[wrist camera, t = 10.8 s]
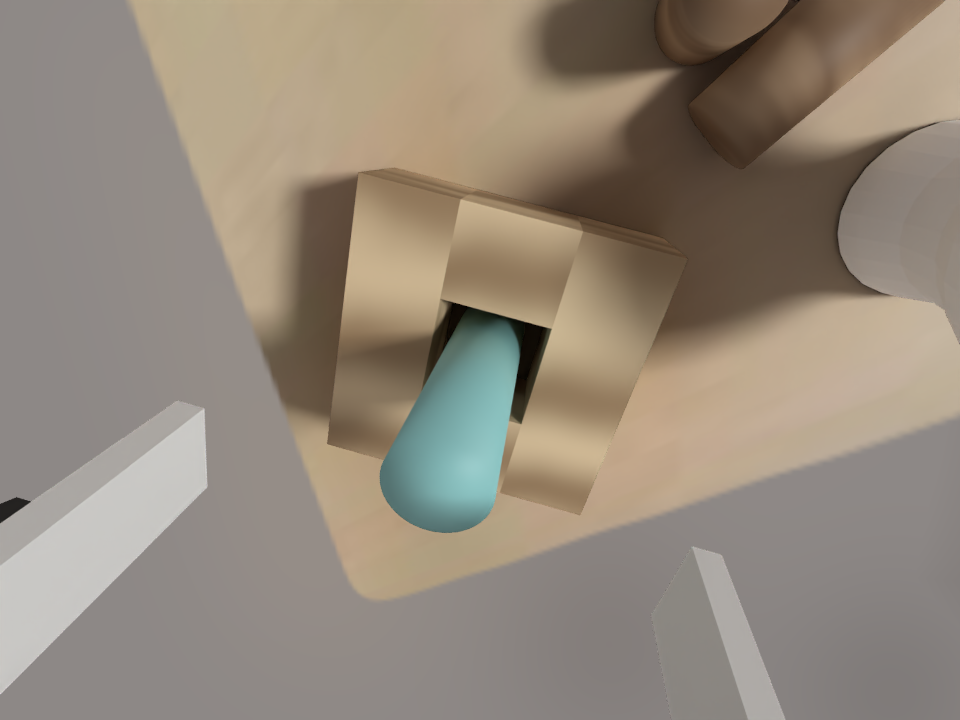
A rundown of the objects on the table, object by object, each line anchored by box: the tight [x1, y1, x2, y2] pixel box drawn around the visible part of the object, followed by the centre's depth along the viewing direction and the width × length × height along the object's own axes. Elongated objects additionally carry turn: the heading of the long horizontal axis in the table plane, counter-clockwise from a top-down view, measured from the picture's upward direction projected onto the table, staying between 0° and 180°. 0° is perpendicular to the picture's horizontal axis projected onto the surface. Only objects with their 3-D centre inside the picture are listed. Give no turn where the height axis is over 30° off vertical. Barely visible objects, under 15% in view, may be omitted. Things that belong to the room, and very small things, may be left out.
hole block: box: [327, 168, 688, 515], centre depth 25 cm, size 14×14×5 cm
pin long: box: [380, 306, 525, 533], centre depth 21 cm, size 4×4×14 cm
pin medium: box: [688, 0, 945, 169], centre depth 19 cm, size 4×4×8 cm
